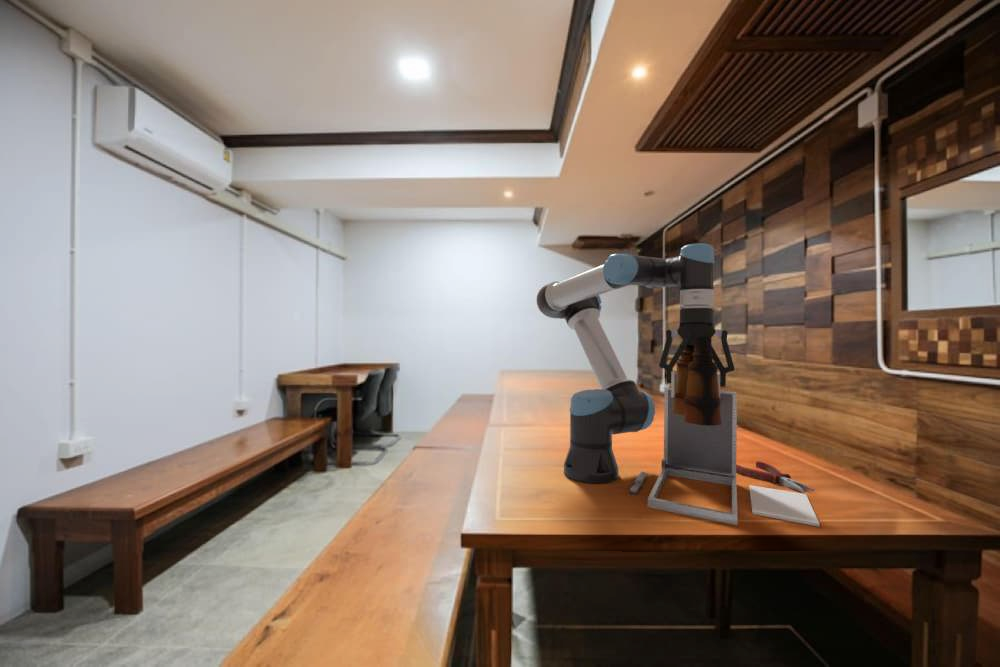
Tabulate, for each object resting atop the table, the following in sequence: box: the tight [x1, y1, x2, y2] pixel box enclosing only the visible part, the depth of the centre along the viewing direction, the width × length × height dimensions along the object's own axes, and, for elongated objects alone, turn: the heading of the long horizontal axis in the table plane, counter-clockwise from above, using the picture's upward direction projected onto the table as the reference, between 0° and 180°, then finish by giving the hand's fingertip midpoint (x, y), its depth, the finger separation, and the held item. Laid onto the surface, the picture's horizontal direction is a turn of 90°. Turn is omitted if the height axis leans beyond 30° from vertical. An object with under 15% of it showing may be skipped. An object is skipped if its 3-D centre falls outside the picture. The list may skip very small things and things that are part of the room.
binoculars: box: [672, 337, 722, 426], centre depth 102 cm, size 18×8×20 cm, turn 172°
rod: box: [628, 471, 648, 496], centre depth 109 cm, size 2×14×2 cm, turn 151°
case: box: [647, 387, 738, 526], centre depth 103 cm, size 18×27×24 cm
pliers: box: [736, 460, 815, 494], centre depth 113 cm, size 12×20×3 cm, turn 15°
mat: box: [748, 484, 821, 527], centre depth 97 cm, size 12×18×1 cm, turn 151°
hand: (695, 398), depth 102 cm, fingers closed on binoculars, 9 cm apart
